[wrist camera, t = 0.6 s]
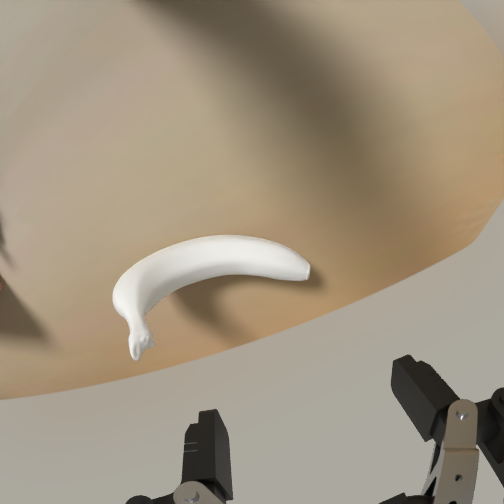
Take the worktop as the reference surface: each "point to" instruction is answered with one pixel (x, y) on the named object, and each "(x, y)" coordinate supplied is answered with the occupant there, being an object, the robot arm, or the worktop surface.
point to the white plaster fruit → (197, 274)
